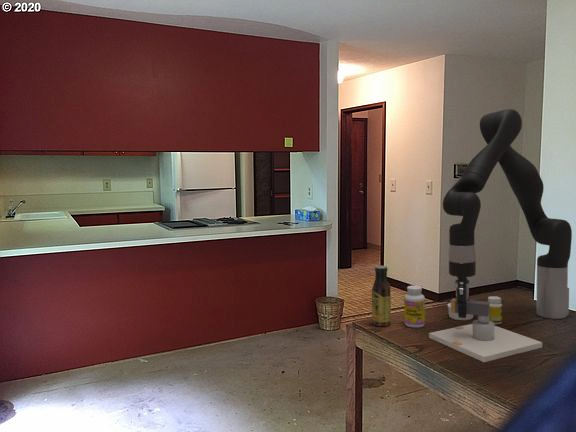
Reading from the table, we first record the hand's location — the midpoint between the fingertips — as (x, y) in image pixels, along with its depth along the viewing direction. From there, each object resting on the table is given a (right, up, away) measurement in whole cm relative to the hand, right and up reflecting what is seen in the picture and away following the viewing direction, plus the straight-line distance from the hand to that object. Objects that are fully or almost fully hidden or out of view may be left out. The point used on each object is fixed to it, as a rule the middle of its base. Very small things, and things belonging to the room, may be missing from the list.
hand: (462, 315), depth 148 cm
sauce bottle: (-21, -7, +18) cm, 28 cm away
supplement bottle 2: (+16, -6, +16) cm, 23 cm away
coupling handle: (+2, -1, -1) cm, 3 cm away
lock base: (+5, -8, -2) cm, 10 cm away
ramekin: (+7, -5, +23) cm, 25 cm away
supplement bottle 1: (-10, -7, +16) cm, 20 cm away
